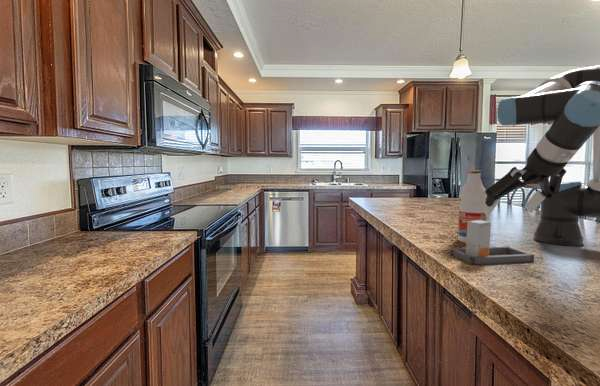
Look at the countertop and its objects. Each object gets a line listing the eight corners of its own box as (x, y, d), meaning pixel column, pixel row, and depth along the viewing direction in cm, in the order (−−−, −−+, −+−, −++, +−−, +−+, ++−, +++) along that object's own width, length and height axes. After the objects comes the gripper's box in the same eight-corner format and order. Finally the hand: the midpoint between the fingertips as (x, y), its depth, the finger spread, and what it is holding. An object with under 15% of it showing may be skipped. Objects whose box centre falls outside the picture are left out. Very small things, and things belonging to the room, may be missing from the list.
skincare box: (477, 261, 101) (478, 223, 100) (465, 257, 105) (466, 221, 104) (489, 258, 104) (491, 221, 103) (477, 255, 108) (478, 219, 107)
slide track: (506, 251, 112) (507, 245, 112) (533, 261, 101) (534, 254, 101) (450, 254, 109) (450, 247, 109) (471, 264, 99) (472, 257, 98)
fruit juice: (490, 243, 123) (494, 170, 121) (468, 245, 122) (471, 170, 119) (473, 238, 132) (476, 170, 130) (452, 239, 131) (455, 170, 128)
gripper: (513, 167, 74) (473, 223, 90) (609, 162, 77) (554, 217, 92) (495, 146, 79) (460, 203, 95) (586, 142, 82) (538, 198, 97)
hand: (506, 210), depth 94 cm, fingers open, 13 cm apart
